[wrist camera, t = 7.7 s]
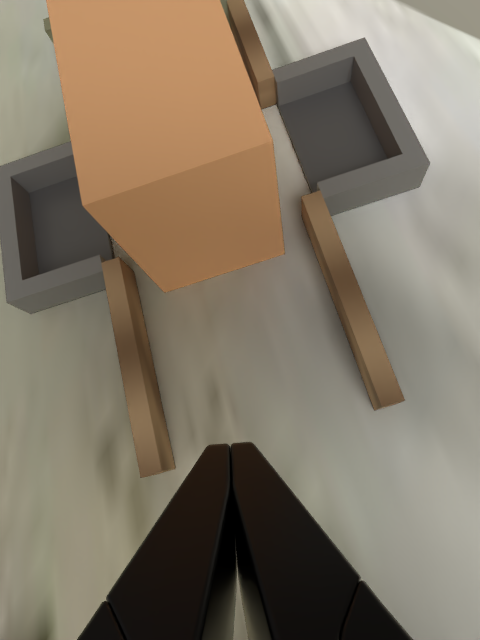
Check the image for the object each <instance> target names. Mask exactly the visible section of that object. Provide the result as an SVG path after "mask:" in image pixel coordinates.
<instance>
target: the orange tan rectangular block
mask: <svg viewBox="0 0 480 640" xmlns="http://www.w3.org/2000/svg"><path fill="white" fill-rule="evenodd" d="M46 2H47V8H48V13H49V19H50V25H51V30H52V36H53V42H54V47H55V53H56V59H57V65H58V70H59V76H60V82H61V87H62V93H63V99H64V104H65V110H66V116H67V121H68V127H69V133H70V138H71V144H72V150H73V155H74V161H75V167H76V172H77V178H78V184H79V189H80V195H81V201H82V206H83V207H84V208H85V209H86V210H87V211H88V212H89V213H90V214H91V215H92V217H93V218H94V219H95V220H96V221H97V222H98V223H99V224H100V225H101V226H102V227H103V228H104V229H105V230H106V231H107V232H108V233H109V234H110V236H111V237H112V238H113V239H114V240H115V241H116V242H117V243H118V244H119V245H120V246H121V247H122V248H123V249H124V250H125V251H126V252H127V254H128V255H129V256H130V257H131V258H132V259H133V260H134V261H135V262H136V263H137V264H138V265H139V266H140V267H141V268H142V269H143V270H144V272H145V273H146V274H147V275H148V276H149V277H150V278H151V279H152V280H153V281H154V282H155V283H156V284H157V285H158V286H159V287H160V288H161V289H162V291H163V292H164V293H166V292H169V291H172V290H175V289H178V288H181V287H184V286H187V285H190V284H194V283H197V282H200V281H203V280H206V279H209V278H212V277H215V276H218V275H221V274H225V273H228V272H231V271H234V270H237V269H240V268H243V267H246V266H249V265H252V264H255V263H259V262H262V261H265V260H268V259H271V258H274V257H277V256H280V255H283V254H285V250H284V241H283V231H282V222H281V212H280V203H279V194H278V184H277V175H276V165H275V156H274V147H273V140H272V137H271V134H270V132H269V129H268V126H267V124H266V121H265V119H264V116H263V113H262V111H261V108H260V105H259V103H258V100H257V97H256V95H255V92H254V89H253V87H252V84H251V81H250V79H249V76H248V73H247V71H246V68H245V65H244V63H243V60H242V57H241V55H240V52H239V50H238V47H237V44H236V42H235V39H234V36H233V34H232V31H231V28H230V26H229V23H228V20H227V18H226V15H225V12H224V10H223V7H222V4H221V2H220V0H46Z"/></svg>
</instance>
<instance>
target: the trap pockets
mask: <svg viewBox="0 0 480 640" xmlns="http://www.w3.org/2000/svg"><path fill="white" fill-rule="evenodd" d="M272 72H273V74H274V78H275V90H276V102H277V106H278V109H279V111H280V114H281V116H282V119H283V121H284V124H285V126H286V129H287V131H288V134H289V136H290V139H291V142H292V144H293V147H294V149H295V152H296V154H297V157H298V159H299V162H300V164H301V167H302V169H303V172H304V174H305V177H306V180H307V182H308V185H309V187H310V190H311V192H312V193H314V192H317V191H321V193H322V196H323V198H324V201H325V203H326V206H327V208H328V211H329V213H330V216H332V215H335V214H338V213H341V212H344V211H347V210H350V209H353V208H356V207H359V206H363V205H366V204H369V203H372V202H375V201H378V200H381V199H384V198H387V197H390V196H393V195H396V194H399V193H402V192H405V191H408V190H412V189H415V188H418V187H420V185H421V182H422V180H423V178H424V176H425V174H426V171H427V169H428V167H429V165H430V162H429V160H428V158H427V156H426V154H425V152H424V150H423V148H422V146H421V145H420V143H419V141H418V139H417V137H416V135H415V133H414V131H413V129H412V127H411V125H410V123H409V121H408V120H407V118H406V116H405V114H404V112H403V110H402V108H401V106H400V104H399V102H398V100H397V98H396V96H395V95H394V93H393V91H392V89H391V87H390V85H389V83H388V81H387V79H386V77H385V75H384V73H383V72H382V70H381V68H380V66H379V64H378V62H377V60H376V58H375V56H374V54H373V52H372V50H371V48H370V47H369V45H368V43H367V41H366V39H365V38H362V39H359V40H356V41H353V42H350V43H348V44H345V45H342V46H339V47H336V48H333V49H331V50H328V51H325V52H322V53H319V54H316V55H314V56H311V57H308V58H305V59H302V60H299V61H297V62H294V63H291V64H288V65H285V66H282V67H280V68H277V69H274V70H272ZM0 239H1V249H2V260H3V270H4V280H5V291H6V301H7V303H8V304H10V305H13V306H15V307H17V308H19V309H21V310H23V311H26V312H28V313H30V314H32V313H35V312H38V311H41V310H44V309H47V308H50V307H53V306H56V305H59V304H62V303H65V302H68V301H71V300H75V299H78V298H81V297H84V296H87V295H90V294H93V293H96V292H99V291H102V290H105V289H106V286H105V281H104V275H103V270H102V264H101V263H102V262H105V261H108V260H111V259H114V256H113V251H112V246H111V240H110V235H109V233H108V232H107V231H106V230H105V229H104V228H103V227H102V226H101V225H100V224H99V223H98V222H97V221H96V220H95V219H94V218H93V217H92V215H91V214H90V213H89V212H88V211H87V210H86V209H85V208H84V207H83V206H82V201H81V195H80V189H79V184H78V178H77V172H76V167H75V161H74V155H73V150H72V144H71V141H70V142H67V143H64V144H61V145H59V146H56V147H53V148H50V149H47V150H44V151H42V152H39V153H36V154H33V155H30V156H27V157H25V158H22V159H19V160H16V161H13V162H10V163H8V164H5V165H2V166H0Z"/></svg>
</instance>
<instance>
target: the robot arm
mask: <svg viewBox="0 0 480 640" xmlns="http://www.w3.org/2000/svg"><path fill="white" fill-rule="evenodd" d="M236 554H237V559H236ZM237 567H238V577H239V585H240V592H241V598H242V604H243V610H244V616H245V622H246V628H247V634H248V640H413V639H412V638H411V637H410V636H409V634H408V633H407V632H406V631H405V630H404V629H403V627H402V626H401V625H400V624H399V623H398V621H397V620H396V619H395V618H394V617H393V616H392V614H391V613H390V612H389V611H388V610H387V609H386V607H385V606H384V605H383V604H382V603H381V601H380V600H379V599H378V598H377V596H376V595H375V594H374V593H373V591H372V590H371V589H370V587H369V586H368V585H367V584H366V582H365V581H361V577H360V575H359V574H358V573H357V572H356V570H355V569H354V568H353V567H352V565H351V564H350V563H349V562H348V560H347V559H346V558H345V557H344V555H343V554H342V553H341V552H340V550H339V549H338V548H337V547H336V545H335V544H334V543H333V542H332V541H331V539H330V538H329V537H328V536H327V534H326V533H325V532H324V531H323V529H322V528H321V527H320V526H319V524H318V523H317V522H316V521H315V519H314V518H313V517H312V516H311V514H310V513H309V512H308V511H307V509H306V508H305V507H304V506H303V504H302V503H301V502H300V501H299V499H298V498H297V497H296V496H295V494H294V493H293V492H292V491H291V489H290V488H289V487H288V486H287V484H286V483H285V482H284V481H283V480H282V478H281V477H280V476H279V475H278V473H277V472H276V471H275V470H274V468H273V467H272V466H271V465H270V463H269V462H268V461H267V460H266V458H265V457H264V456H263V455H262V453H261V452H260V451H259V450H258V448H257V447H256V446H255V445H254V444H253V443H252V442H242V443H233V444H232V445H231V451H230V446H229V445H228V444H213V445H208V446H207V447H206V449H205V450H204V452H203V453H202V455H201V456H200V458H199V459H198V461H197V462H196V464H195V465H194V467H193V468H192V470H191V471H190V473H189V474H188V475H187V477H186V478H185V480H184V481H183V483H182V484H181V486H180V487H179V489H178V490H177V492H176V493H175V495H174V496H173V498H172V499H171V501H170V502H169V504H168V505H167V507H166V508H165V510H164V511H163V513H162V514H161V516H160V517H159V519H158V520H157V522H156V523H155V525H154V526H153V528H152V529H151V531H150V532H149V534H148V535H147V537H146V538H145V540H144V541H143V543H142V544H141V546H140V547H139V549H138V550H137V552H136V553H135V555H134V556H133V558H132V559H131V561H130V562H129V564H128V565H127V567H126V568H125V570H124V571H123V573H122V574H121V576H120V577H119V579H118V580H117V582H116V583H115V585H114V586H113V588H112V589H111V591H110V592H109V594H108V595H107V597H106V600H107V601H104V602H102V603H101V605H100V606H99V608H98V609H97V611H96V612H95V614H94V615H93V617H92V619H91V620H90V622H89V623H88V625H87V626H86V628H85V629H84V630H83V632H82V633H81V635H80V636H79V637H78V639H77V640H233V633H234V617H235V602H236V584H237Z"/></svg>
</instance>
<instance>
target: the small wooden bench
mask: <svg viewBox="0 0 480 640" xmlns="http://www.w3.org/2000/svg"><path fill="white" fill-rule="evenodd" d="M220 2H221V4H222V7H223V10H224V12H225V15H226V18H227V20H228V23H229V26H230V28H231V31H232V33H233V36H234V38H235V41H236V44H237V46H238V49H239V52H240V54H241V57H242V60H243V62H244V65H245V68H246V70H247V73H248V75H249V78H250V81H251V83H252V86H253V89H254V91H255V94H256V97H257V99H258V102H259V105H260V107H261V109H264V108H267V107H269V106H272V105H275V104H277V102H276V90H275V78H274V74H273V72H272V69H271V67H270V64H269V62H268V59H267V57H266V54H265V52H264V50H263V47H262V45H261V42H260V40H259V37H258V35H257V32H256V30H255V27H254V25H253V22H252V20H251V17H250V15H249V12H248V10H247V7H246V5H245V2H244V0H220ZM43 20H44V26H45V31H46V33H47V34H48V36H49V38H50V39H51V41H52V42H53V36H52V30H51V25H50V19H49V18H46V19H43ZM53 44H54V42H53ZM301 203H302V219H303V222H304V224H305V227H306V230H307V232H308V235H309V238H310V240H311V243H312V246H313V248H314V251H315V254H316V256H317V259H318V262H319V264H320V267H321V270H322V272H323V275H324V278H325V280H326V283H327V285H328V288H329V291H330V293H331V296H332V299H333V301H334V304H335V307H336V309H337V312H338V315H339V317H340V320H341V323H342V325H343V328H344V331H345V333H346V336H347V339H348V341H349V344H350V347H351V349H352V352H353V355H354V357H355V360H356V363H357V365H358V368H359V371H360V373H361V376H362V379H363V381H364V384H365V387H366V389H367V392H368V394H369V397H370V400H371V402H372V405H373V408H374V410H378V409H381V408H384V407H388V406H391V405H395V404H397V403H400V402H402V401H405V399H404V397H403V394H402V392H401V389H400V387H399V384H398V382H397V379H396V377H395V374H394V372H393V369H392V367H391V364H390V362H389V360H388V357H387V355H386V352H385V350H384V347H383V345H382V342H381V340H380V337H379V335H378V332H377V330H376V327H375V325H374V322H373V320H372V317H371V315H370V312H369V310H368V307H367V305H366V302H365V300H364V298H363V295H362V293H361V290H360V288H359V285H358V283H357V280H356V278H355V275H354V273H353V270H352V268H351V265H350V263H349V260H348V258H347V255H346V253H345V250H344V248H343V245H342V243H341V240H340V238H339V236H338V233H337V231H336V228H335V226H334V223H333V221H332V218H331V216H330V213H329V211H328V208H327V206H326V203H325V201H324V198H323V196H322V193H321V191H317V192H314V193H311V194H308V195H305V196H302V197H301ZM101 264H102V270H103V275H104V281H105V286H106V292H107V297H108V303H109V308H110V313H111V319H112V324H113V330H114V335H115V341H116V346H117V352H118V357H119V363H120V368H121V373H122V379H123V384H124V390H125V395H126V401H127V406H128V412H129V417H130V422H131V428H132V433H133V439H134V444H135V450H136V455H137V461H138V466H139V471H140V477H141V478H142V477H147V476H151V475H156V474H159V473H163V472H166V471H169V470H173V469H175V464H174V459H173V455H172V450H171V445H170V440H169V436H168V431H167V426H166V421H165V417H164V412H163V407H162V402H161V398H160V393H159V388H158V384H157V379H156V374H155V369H154V365H153V360H152V355H151V350H150V346H149V341H148V336H147V331H146V327H145V322H144V317H143V312H142V308H141V303H140V298H139V293H138V289H137V284H136V279H135V274H134V271H133V270H132V269H131V268H130V267H129V266H128V265H126V264H125V263H124V262H123V261H122V260H121V259H120V258H119V257H117V258H114V259H111V260H108V261H105V262H102V263H101Z"/></svg>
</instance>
